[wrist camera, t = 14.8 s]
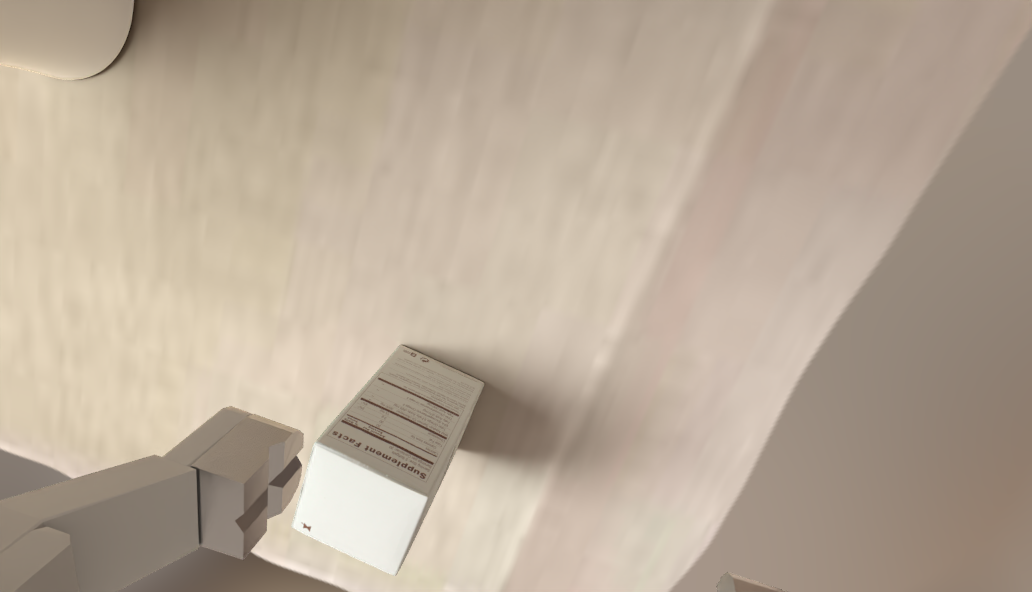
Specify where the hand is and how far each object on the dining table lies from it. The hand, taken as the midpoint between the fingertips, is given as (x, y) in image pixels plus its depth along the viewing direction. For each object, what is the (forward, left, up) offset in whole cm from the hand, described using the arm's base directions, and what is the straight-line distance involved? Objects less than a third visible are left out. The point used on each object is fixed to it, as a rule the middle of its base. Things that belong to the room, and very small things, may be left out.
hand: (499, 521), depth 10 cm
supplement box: (+7, -19, -27) cm, 34 cm away
